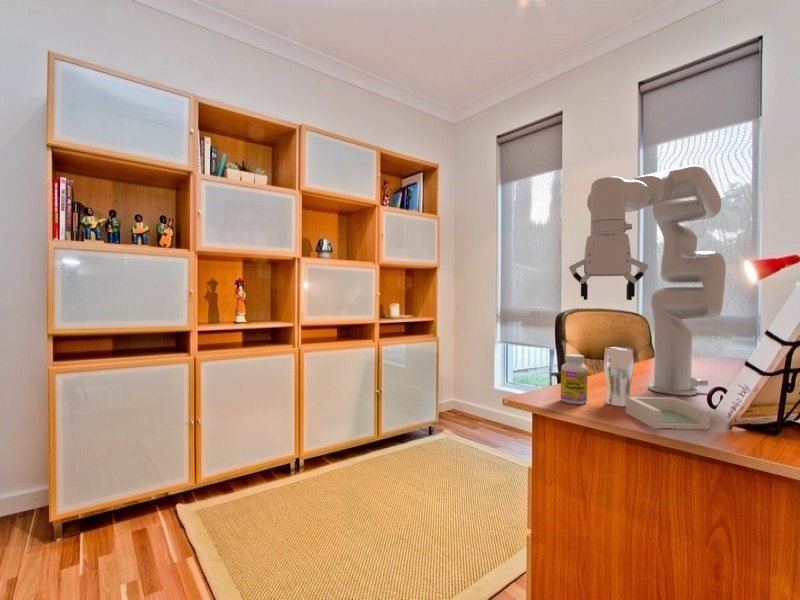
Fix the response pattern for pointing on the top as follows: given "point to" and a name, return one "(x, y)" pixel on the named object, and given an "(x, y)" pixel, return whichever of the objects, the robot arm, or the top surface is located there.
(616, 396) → the beer glass
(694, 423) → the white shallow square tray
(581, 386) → the supplement bottle
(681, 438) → the top surface
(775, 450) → the top surface
